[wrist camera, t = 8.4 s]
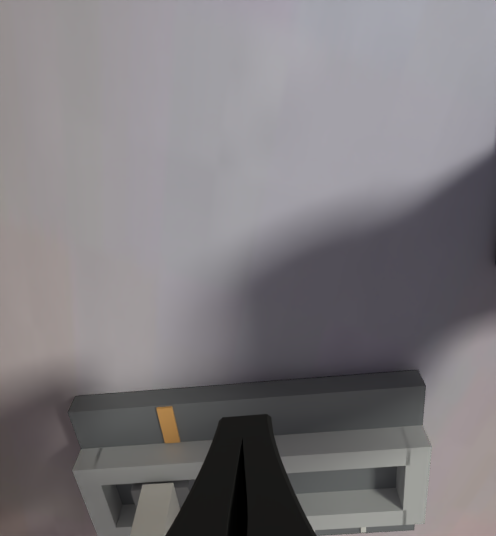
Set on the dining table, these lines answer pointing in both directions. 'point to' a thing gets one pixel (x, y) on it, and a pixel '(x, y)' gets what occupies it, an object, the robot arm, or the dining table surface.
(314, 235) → the dining table surface
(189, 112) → the dining table surface
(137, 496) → the fader
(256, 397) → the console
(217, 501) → the robot arm
